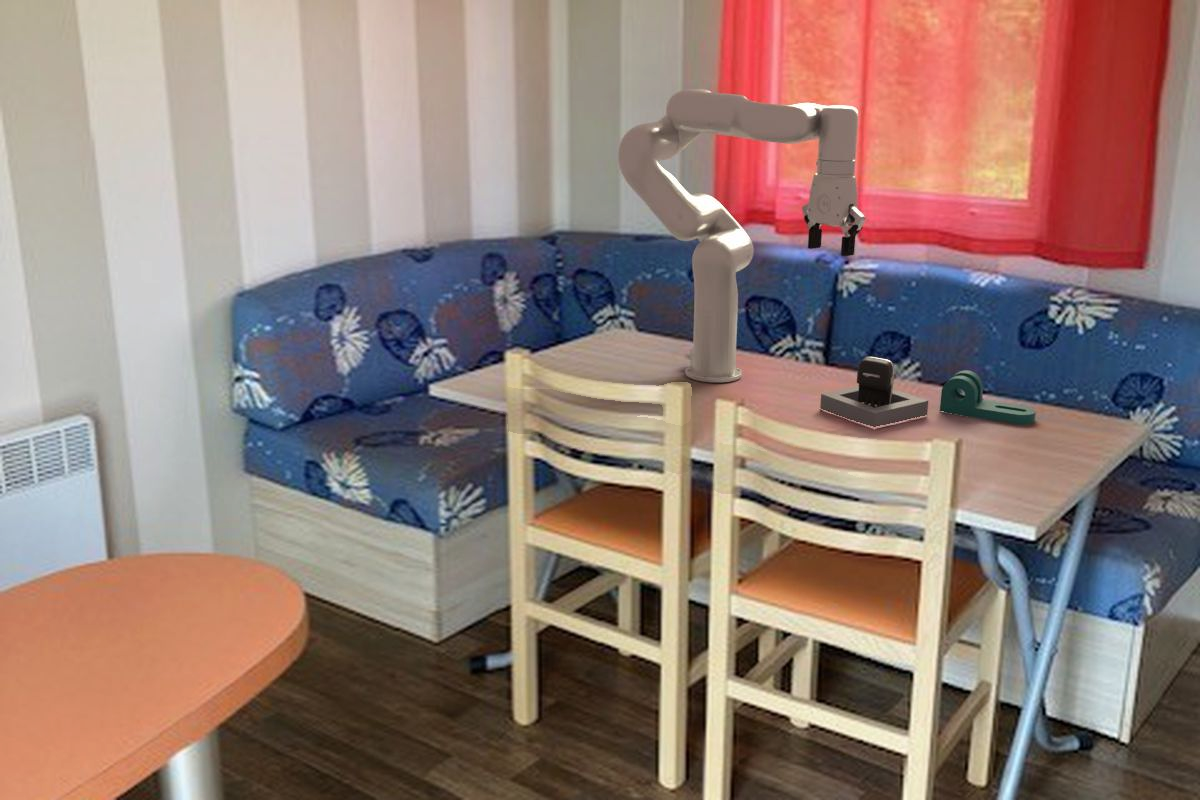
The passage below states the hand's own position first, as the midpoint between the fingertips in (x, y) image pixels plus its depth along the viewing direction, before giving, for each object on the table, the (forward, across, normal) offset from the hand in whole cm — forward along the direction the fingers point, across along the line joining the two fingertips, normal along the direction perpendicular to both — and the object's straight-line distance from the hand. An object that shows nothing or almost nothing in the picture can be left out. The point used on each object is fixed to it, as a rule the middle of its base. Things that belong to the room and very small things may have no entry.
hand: (830, 251), depth 254 cm
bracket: (+31, +30, +17) cm, 46 cm away
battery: (+31, +17, -2) cm, 35 cm away
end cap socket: (+30, +17, -2) cm, 35 cm away
